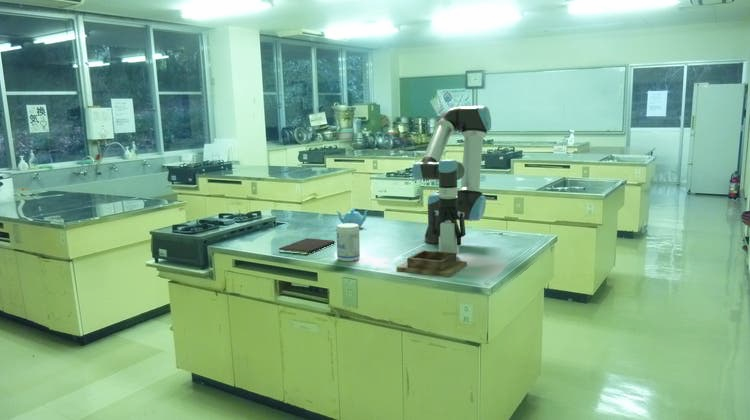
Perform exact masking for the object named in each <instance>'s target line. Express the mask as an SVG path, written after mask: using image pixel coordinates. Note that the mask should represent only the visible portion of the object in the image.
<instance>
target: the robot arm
mask: <svg viewBox="0 0 750 420" xmlns="http://www.w3.org/2000/svg"><path fill="white" fill-rule="evenodd" d="M433 128H434V132H433V134H432V137H431V138H430V141H429V143H428V145H427V148H426V150H425V152H424V155H423V157H422V160H421V161H418V162H417V161H416V162H414V163H413V165H412V169H411V170H412V172H411V173H412V177H413V178H414V179H415V180H423V181H424V180H428V181H429V180H430V181H436V180H437V181H438V192H435V193H431V194H429V195H428V196H427V227H426V229H425V230H426V231H425V234H424V242H425V243H428V244H432V245H433V244H435V245H438V251H439V252H440V224H441V223H442V222H445V221H451V222H452V223H455V234H456V238H455V253H456V254H457V255H458V253H460V246H461V245H462V238H463V237H465V236H466V235H467V234H466V223H465V221H469V222H473V221H475V222H476V221H478V222H479V221H481V220H482V218H483V216H484V214H485V211H486V206H487V202H486V201H487V198H486V196H485V195H483V191H482V190H481V188H480V185H481V173H482V172H481V171H482V158H483V157H482V156H483V144H484V143H483V142H484V138H485V137H487V133H488V132H490V131H491V130H492V118H491V113H490V110H489V108H488V106H485V105H470V106H467V105H466V106H455V107H451V108H448V109H447V110H446V111H444V112H443V113H442V114H441V115H440V116H439V117H438V118H437V120H436V122H435V124H434V127H433ZM455 132H461V135H462V137H463V138H464V139H463V140H464V142H463V155H462V161H457V160H456V159H452V158H450V159H449V158H448V159H442V156H443V154H444V152H445V149H446V146H447V144H448V142H449V140H450V137H452V136H453V135H454V133H455ZM458 180H460V182H461V183H460V188H458ZM458 221H459V223H458Z"/></svg>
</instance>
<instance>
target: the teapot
mask: <svg viewBox="0 0 750 420" xmlns="http://www.w3.org/2000/svg"><path fill="white" fill-rule="evenodd" d="M368 211H369V209H367V210H365V211H364V213H363V217H362V215H361V214H360V212H359V211H356V210H355V207H352V209H350V210H349V211H347V212H346V213H345V214H344V216H343V217H342V214H341V212H340V211H338V210H336V211H335V212H336V213H337V214H338V218H339V221H340V223H341V224H344V223H354V224H358V225H359V228H360V227H362V226H363V224H364V223H365V221H366V220H367V212H368Z"/></svg>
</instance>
